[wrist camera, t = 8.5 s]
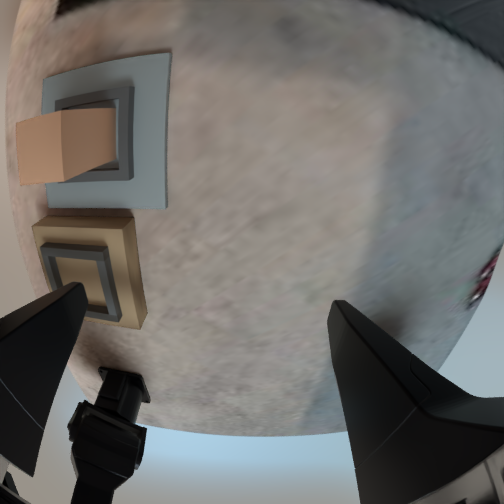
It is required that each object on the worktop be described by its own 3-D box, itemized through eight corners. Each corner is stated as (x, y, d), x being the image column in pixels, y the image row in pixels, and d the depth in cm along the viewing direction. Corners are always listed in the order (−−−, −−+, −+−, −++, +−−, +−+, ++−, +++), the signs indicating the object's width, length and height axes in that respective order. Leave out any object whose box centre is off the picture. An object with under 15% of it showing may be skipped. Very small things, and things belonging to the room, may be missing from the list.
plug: (116, 158, 18) (64, 181, 12) (76, 162, 18) (20, 185, 12) (116, 108, 17) (61, 110, 10) (74, 114, 16) (16, 123, 10)
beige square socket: (147, 313, 26) (137, 337, 23) (68, 300, 26) (53, 320, 22) (134, 217, 21) (116, 234, 18) (46, 215, 21) (25, 230, 18)
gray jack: (167, 206, 21) (161, 213, 20) (52, 205, 21) (42, 212, 19) (172, 54, 15) (165, 49, 14) (47, 79, 15) (36, 79, 14)
